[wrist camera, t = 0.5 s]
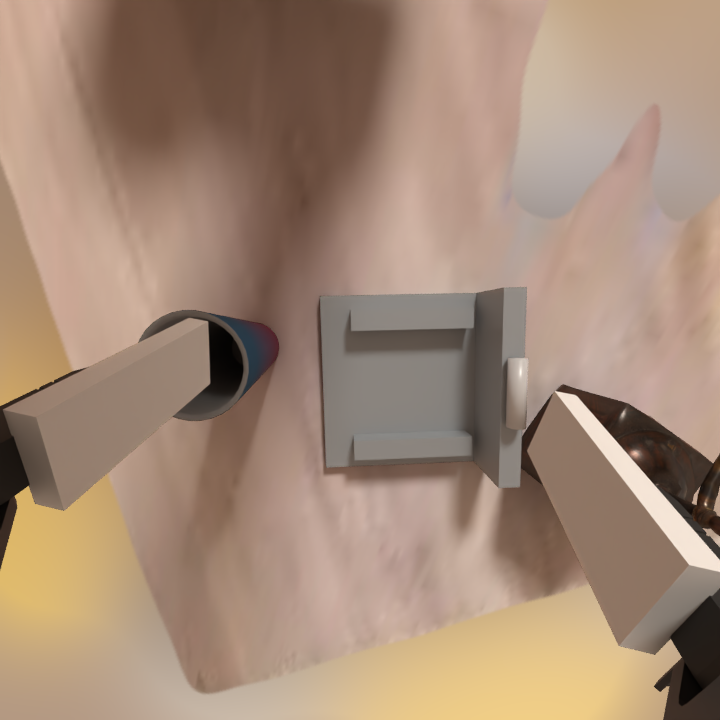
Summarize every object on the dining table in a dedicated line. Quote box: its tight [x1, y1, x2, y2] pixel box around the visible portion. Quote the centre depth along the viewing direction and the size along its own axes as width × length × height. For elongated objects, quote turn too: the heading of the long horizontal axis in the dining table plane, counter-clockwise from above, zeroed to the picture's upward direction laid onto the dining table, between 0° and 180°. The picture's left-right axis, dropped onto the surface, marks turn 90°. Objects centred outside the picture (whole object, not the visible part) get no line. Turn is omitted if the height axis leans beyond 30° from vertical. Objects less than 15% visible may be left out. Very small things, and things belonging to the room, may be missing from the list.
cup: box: [138, 310, 279, 421], centre depth 28 cm, size 7×7×15 cm
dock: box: [320, 287, 528, 488], centre depth 33 cm, size 18×18×9 cm
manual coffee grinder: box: [521, 384, 720, 536], centre depth 30 cm, size 16×11×18 cm
